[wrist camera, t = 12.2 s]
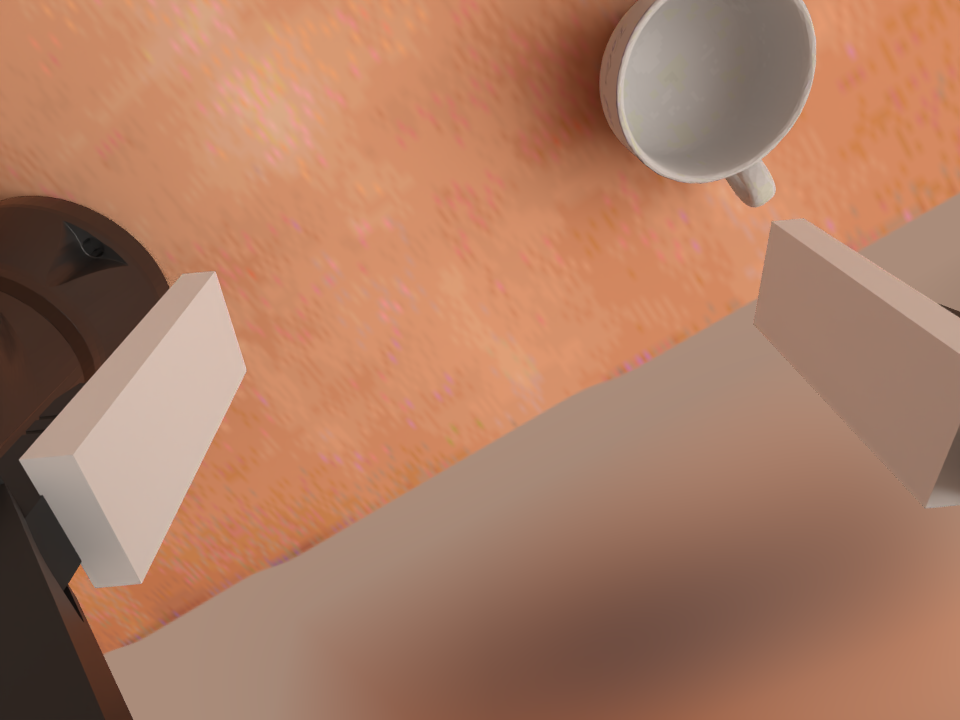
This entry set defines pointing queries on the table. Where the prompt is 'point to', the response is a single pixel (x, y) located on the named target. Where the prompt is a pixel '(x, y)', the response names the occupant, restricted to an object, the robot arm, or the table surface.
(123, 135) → the table surface
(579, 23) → the table surface
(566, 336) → the table surface
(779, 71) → the teacup
